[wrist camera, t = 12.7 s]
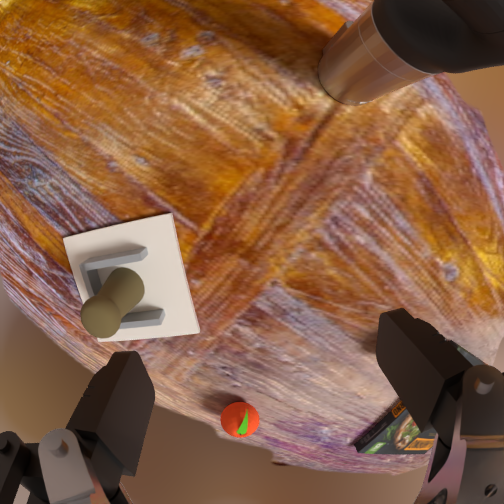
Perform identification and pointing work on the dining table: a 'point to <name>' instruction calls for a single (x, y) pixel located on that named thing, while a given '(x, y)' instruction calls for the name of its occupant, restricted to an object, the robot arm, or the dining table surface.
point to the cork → (112, 303)
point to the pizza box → (403, 428)
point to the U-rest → (146, 266)
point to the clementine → (239, 419)
